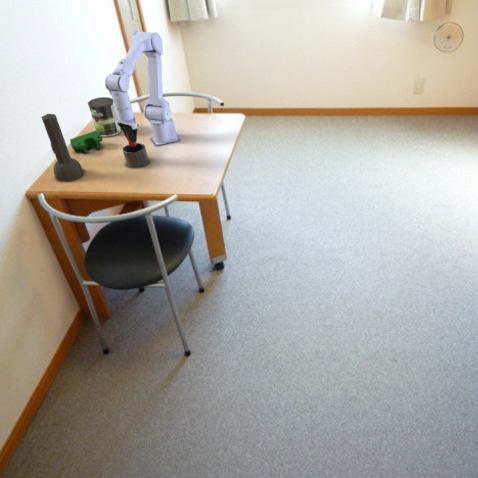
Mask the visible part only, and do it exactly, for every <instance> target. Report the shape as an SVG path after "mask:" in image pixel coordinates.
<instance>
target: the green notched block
mask: <svg viewBox="0 0 478 478" xmlns="http://www.w3.org/2000/svg"><path fill="white" fill-rule="evenodd" d="M69 142H70V146H71V149H72V150H73V151H74V152H75V153H79V152H81V151H83V152H84V153H85V154H88V149H90V148H95V149H97V150H99V148H100V147H99V144H100V143H102V142H103V137H102V136H101V135H100V134H99V133H98V132H97V131H96V130H93V131H91V132H88V133H85V134H81V135H79V136H76V137H73V138H70V139H69Z"/></svg>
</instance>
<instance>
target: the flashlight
mask: <svg viewBox="0 0 478 478" xmlns="http://www.w3.org/2000/svg"><path fill="white" fill-rule="evenodd" d="M41 120H42V123H43V125H44V128H45V131H46V134H47V136H48V139H49V142H50V147H51V150H52V152H53V154H54V155H55V158H56V162H55V163H54V165H53V175H54V176H55V178H56V179H57V180H58V181H62V182H70V181H75V180H77V179H78V178H80V177H82V176H83V174H84V173H83V167H82V165H81V163H80V162H79V160H77V159H76V158H73V157H71V154H70V152H69V149H68V145H67V143H66V140H65V138H64V134H63V132H62V129H61V126H60V124H59V120H58V118H57V115H56V114H55V113H46V114H44V115H42V116H41Z"/></svg>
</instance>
